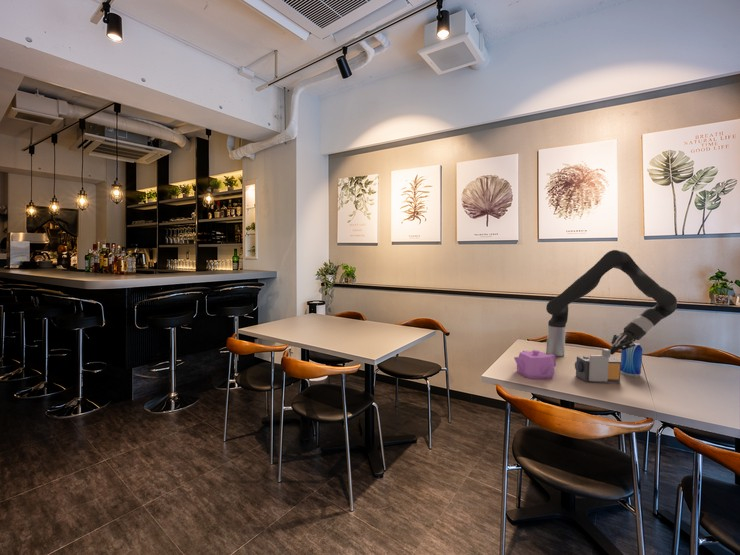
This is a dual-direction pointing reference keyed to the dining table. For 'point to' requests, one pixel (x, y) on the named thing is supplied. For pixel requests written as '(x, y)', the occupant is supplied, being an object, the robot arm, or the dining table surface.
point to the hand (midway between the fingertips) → (609, 353)
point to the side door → (599, 366)
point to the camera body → (583, 369)
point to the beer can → (631, 360)
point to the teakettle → (535, 364)
